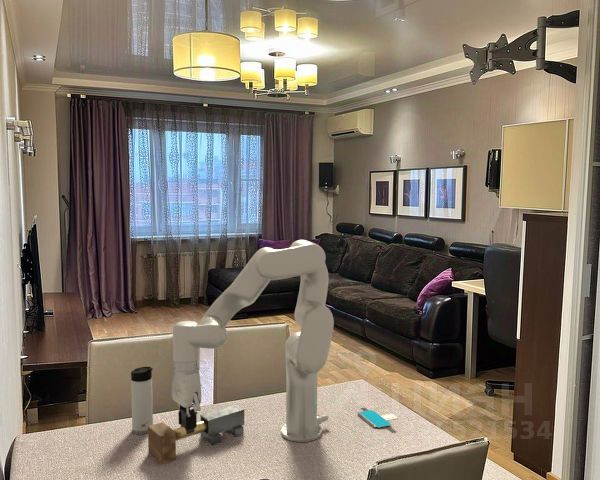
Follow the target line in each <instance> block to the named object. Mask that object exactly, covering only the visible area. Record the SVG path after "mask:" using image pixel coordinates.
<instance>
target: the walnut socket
mask: <svg viewBox="0 0 600 480" xmlns="http://www.w3.org/2000/svg"><path fill="white" fill-rule="evenodd" d="M147 438H148V439H147V441H148V442H147V444H148V449H147V450H148V454H149V456H151V457H152V458H153V459H154V460H155V461H156V462H157V463H159V464H160V465H164V464H167V463H170V462H172V461H175V460H177V450H176V449H177V448H176V447H177V445H176V444H177V441H176V432H175V431H174V429H173V428H171V427H170V426H168V425H167V423H165V422H163V421H162V422H158V423H155V424H153V425H151V426H148V433H147Z"/></svg>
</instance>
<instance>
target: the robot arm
mask: <svg viewBox="0 0 600 480" xmlns="http://www.w3.org/2000/svg"><path fill="white" fill-rule="evenodd" d="M326 258H327V256H326V253H325V250H324V249H323V247H321V246H320V245H319V244H317V243H315V242H312V241H309V240H306V239H298V240H295V241H293V242H292V243H291V245H290V246H289V247H288V248H281V249H274V248H272V247H267V246H265V247H262V248H259V249H258V250H257V251H256V252H255V253H254V254H253V256H252V257H251V258H250V259H249V261H248V262H247V264H246V265H245V266H244V268H243V269H242V270H241V271H240V273H239V274H238V275H237V277H236V278H235V279H234V280H233V282H231V284H230V285H229V286H228V287H227V288H226V289H224V291H223V292H222V293H221V294H220V295H219V296H218V297H217V298H216V299H215V300H214V302H213V303H212V304H211V305H210V306H209V307H208V309H207V310H206V312H205V313H204V314H203V316H202V317H201V318H200V320H199V323H198V322H196V321H193V320H184V321H183V320H182V321H178V322H176V323H174V324H173V327H172V349H173V350H172V353H173V354H172V358H173V359H172V360H173V363H172V364H173V365H172V366H173V369H172V375H171V399H172V400H173V401H174V402H175V403H177V410H178V425H180V426H181V410H184V409H186V410H187V416H186V430H190V429H193V428H196V427H197V422H198V420H197V415H198V412H200V411H201V410H202V408H201V403H202V386H201V385H202V383H201V375H200V374H201V373H200V370H201V353H200V352H201V351H200V349H211V350H216V349H220V348H221V347H223V346H224V345H225V344H226V342H227V341H228V336H229V335H228V331H227V329H226V326H227V325H228V323H229V322H230V321H231V320H232V318H233V317H234V316H235V315H236V314H237V313H238V312H240V310H242V309H243V308H246V307H248V306H251V305H252V304H254V303H255V302H256V300H258V298H259V296H260V295H261V294H262V292H263V291H264V290H265V289H266V287H267V286H268V284H270V282H271V281H278V280H284V279H291V278H294V277H295V278H296V277H300V284H299V291H298V295H297V300H296V301H297V302H296V306H295V310H294V320H295V322H296V324H297V325H298V326H299V328H300V331H297V332H294V333H292V334H290V336H289V337H288V338H287V339H286V341H285V345H284V359H285V370H286V371H285V373H286V377H285V378H286V383H285V384H286V385H285V386H286V388H285V389H286V391H285V392H286V394H285V396H286V397H285V398H286V400H285V401H286V402H285V406H286V407H285V408H286V410H285V414H286V416H285V418H286V419H285V424H284V425H282V427H281V429H280V433H281V436H282V437H283V438H284V439H286V440H289V441H292V442H296V443H307V442H312V441H315V440H317V439H319V438H320V437H321V436H322V435H323V434H322V433H323V430H322V429H323V428H322V427H321V426H320V425H321V424H322V423H324V422H327V421H329V416H328V414H326V413H325V414H323V415H320V414H319V413H318V373H319V372H320V371H321V370H322V369H323V368H324V366H325V365H326V363H327V360H328V356H329V352H330V348H331V342H332V337H333V332H334V328H335V327H334V325H335V323H334V322H335V321H334V320H335V319H334V317H333V313H332V311H331V309H330V308H329V307H328V306H326V302H327V297H328V288H329V271H328V268H327V264H326ZM190 410H191V411H190Z"/></svg>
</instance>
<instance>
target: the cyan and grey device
mask: <svg viewBox="0 0 600 480" xmlns="http://www.w3.org/2000/svg"><path fill="white" fill-rule="evenodd" d="M360 409H361V410H362V411H360V412H357V416H358V417H359V418H360V419H362V420H363V421H364V422H365V423H366V424H368V425H369V426H370V427H372V428H373V429H375V428H378V429H387V430H388V431H390V432H391V433H393V434H394V433H397V431H396V430H395V429H393V427H391V426H392V423H391V422H389V421H391V420H392V421H393V420H397V419H399V418H398V416H396V415H395V414H393V413H390V414H384V415H380V414H379V413H377V412H376V411H375V410H373V409H367V408H366V407H361V408H360Z"/></svg>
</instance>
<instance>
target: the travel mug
mask: <svg viewBox="0 0 600 480" xmlns="http://www.w3.org/2000/svg"><path fill="white" fill-rule="evenodd" d="M130 372H131V373H130V380H131V381H130V390H131V391H130V393H131V428H132V429H131V431H132V432H133V434H136V435H145V434H148V426H151V425H154V409H153V408H154V407H153V404H154V403H153V376H152V375H153V374H152V372H153V367H151V366H140V367H136V368H134V369H133V370H131V371H130Z"/></svg>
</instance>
